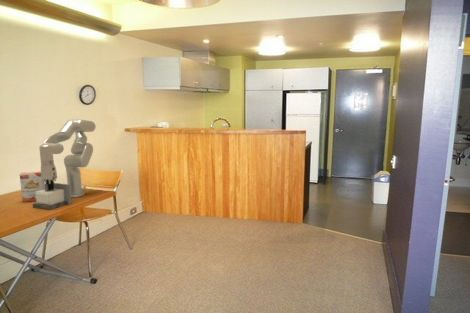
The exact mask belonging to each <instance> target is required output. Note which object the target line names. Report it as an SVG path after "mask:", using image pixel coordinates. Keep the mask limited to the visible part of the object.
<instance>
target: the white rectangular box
mask: <svg viewBox="0 0 470 313" xmlns="http://www.w3.org/2000/svg"><path fill="white" fill-rule="evenodd" d="M54 183H55V182H54ZM54 183H53V188H54ZM48 184H49V183H48ZM48 184H45V189H44V190H40V191H36V201H35V203H39V204H47V205H53V204H56V203H59V202H62V201H65V199H64V190H63V189H52V190H49V185H48Z"/></svg>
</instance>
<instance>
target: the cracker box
mask: <svg viewBox="0 0 470 313" xmlns="http://www.w3.org/2000/svg"><path fill="white" fill-rule="evenodd" d="M19 181H20V190H21V201H22V202H23V203H26V202H27V203H29V202H36V191H40V190H44V189H45V182H44V181H43V180H42V178H41V171H29V172H28V171H26V172H21V173H19Z"/></svg>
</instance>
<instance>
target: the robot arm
mask: <svg viewBox="0 0 470 313" xmlns="http://www.w3.org/2000/svg"><path fill="white" fill-rule="evenodd" d="M96 126H97V125H96V124H95V122H94V121H92V120H85V119H68V120H67V121H66V122H65V124H64V125H63V126H62V127H61V128H60V130H59V131H58V132H55V133H53V134H51V135H50V136H47V138H46V139H45V140H44V141H43V143H42V144H41V145H39V147H38V148H39V158H40V172H41V178H42V180H43V181H44V182H45V184H48V183H49V184H48V185H49V190H52V189H54V188H53V183H55V182H57V179H58V173H57V167H56V165H55V162H54V161H55V160H54V155H60V154H62V153H63V152H64V149H65V148H64V145H63V144H61V143H63V142H66V141H69V140H70V139H71V138H72V136H73V135H74V134H75V138H74V141H73V143H72V145H71V149H70V152H71V154H68V155H66V156H65V157H64V158H63V163H64V164H63V165H64V166H65V172H66V181H67V183H66V184H70V195H71V198H79V197H82V196H85V191H87V187H84V188H83V186H82V177H81V176H82V175H81V170H80V169H79V168H86V167H87V166H88V165H89V163H90V161H91V158H92V156H93V153H94V147H93V144H91V143H90V142H88V137H87V135H86V133H93V132H95V130H96Z"/></svg>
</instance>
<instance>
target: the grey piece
mask: <svg viewBox="0 0 470 313" xmlns="http://www.w3.org/2000/svg"><path fill="white" fill-rule="evenodd" d="M54 189H63V190H64V199H65V201H62V202H59V203H56V204H53V205H47V204H39V203H37V202H35V203H32V208H33V209H40V210H47V211H48V210H49V211H52V210H54V209H58V208H60V207H64V206H67V205H68V206H69V205H71V204H72V197H71V195H70V184H67V183H60V182H59V183H58V182H54Z"/></svg>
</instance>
